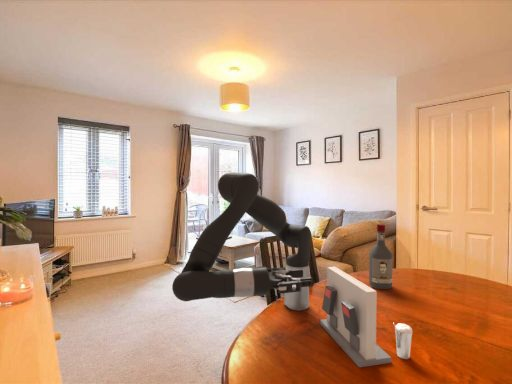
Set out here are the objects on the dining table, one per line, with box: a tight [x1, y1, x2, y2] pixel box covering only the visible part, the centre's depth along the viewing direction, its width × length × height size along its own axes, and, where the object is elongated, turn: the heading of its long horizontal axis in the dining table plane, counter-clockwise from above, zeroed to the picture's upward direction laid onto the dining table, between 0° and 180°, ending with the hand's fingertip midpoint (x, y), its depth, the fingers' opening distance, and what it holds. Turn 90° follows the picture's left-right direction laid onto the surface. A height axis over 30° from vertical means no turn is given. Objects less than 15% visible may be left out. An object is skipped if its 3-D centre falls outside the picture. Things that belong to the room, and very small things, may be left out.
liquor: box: [368, 223, 393, 290], centre depth 140 cm, size 9×9×30 cm
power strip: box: [319, 266, 392, 368], centre depth 92 cm, size 10×25×20 cm, turn 12°
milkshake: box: [393, 322, 413, 360], centre depth 84 cm, size 4×5×10 cm
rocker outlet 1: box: [321, 285, 337, 315], centre depth 97 cm, size 2×5×8 cm, turn 13°
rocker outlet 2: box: [341, 301, 359, 336], centre depth 85 cm, size 2×5×8 cm, turn 12°
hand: (307, 277), depth 81 cm, fingers open, 7 cm apart
